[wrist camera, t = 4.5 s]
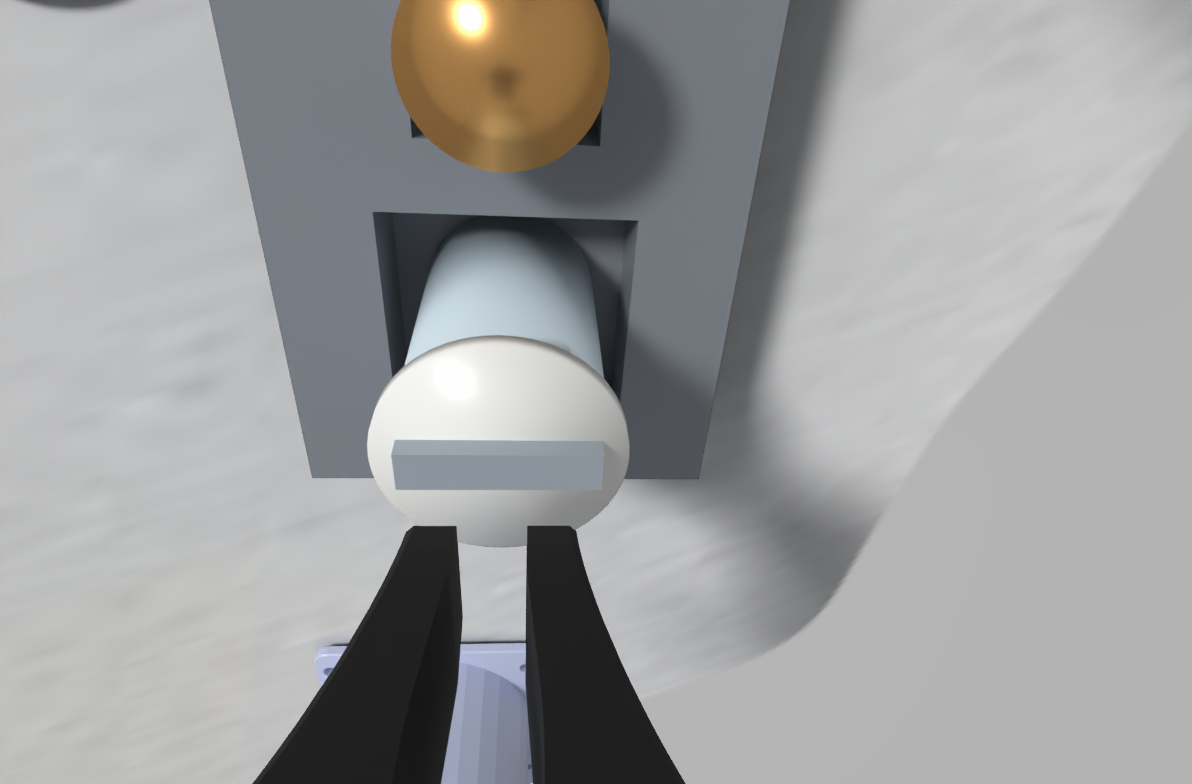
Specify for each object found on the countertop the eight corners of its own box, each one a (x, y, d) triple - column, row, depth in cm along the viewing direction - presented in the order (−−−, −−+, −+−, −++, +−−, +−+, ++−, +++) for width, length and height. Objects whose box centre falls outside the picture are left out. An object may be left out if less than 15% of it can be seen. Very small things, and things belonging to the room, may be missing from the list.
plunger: (590, 117, 16) (602, 176, 13) (427, 109, 15) (401, 168, 12) (601, -73, 14) (617, -53, 11) (414, -85, 13) (379, -69, 10)
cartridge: (597, 367, 20) (620, 562, 14) (423, 364, 19) (378, 564, 14) (610, 202, 17) (644, 364, 12) (408, 195, 17) (345, 359, 11)
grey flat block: (684, 423, 22) (698, 479, 20) (333, 420, 21) (312, 477, 19) (783, -179, 14) (824, -185, 12) (215, -226, 13) (156, -242, 11)
